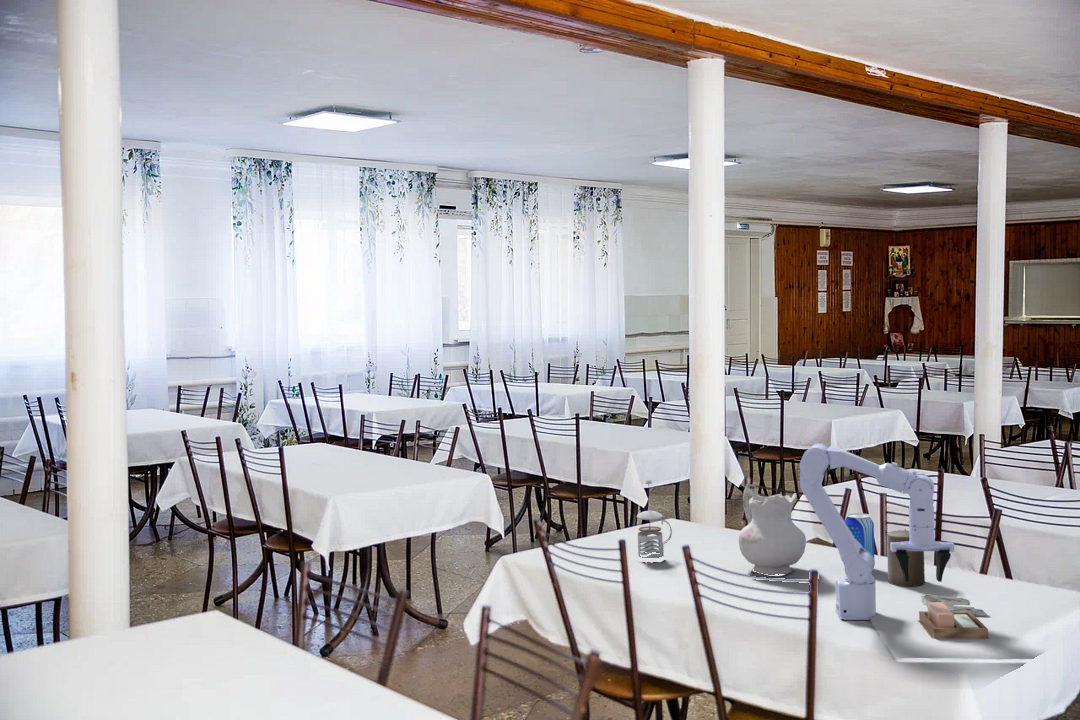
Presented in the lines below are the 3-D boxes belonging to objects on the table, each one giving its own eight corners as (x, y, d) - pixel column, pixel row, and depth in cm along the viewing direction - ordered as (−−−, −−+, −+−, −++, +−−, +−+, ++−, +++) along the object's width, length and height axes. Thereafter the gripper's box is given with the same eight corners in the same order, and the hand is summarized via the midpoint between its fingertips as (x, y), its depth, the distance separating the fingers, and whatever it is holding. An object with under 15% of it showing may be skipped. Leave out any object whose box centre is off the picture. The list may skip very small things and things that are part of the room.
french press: (634, 556, 326) (631, 477, 325) (670, 555, 325) (668, 476, 324) (635, 563, 316) (633, 482, 315) (673, 562, 315) (671, 481, 314)
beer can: (880, 571, 298) (879, 516, 297) (857, 574, 295) (856, 519, 294) (861, 564, 306) (860, 511, 305) (838, 568, 303) (837, 514, 302)
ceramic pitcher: (720, 573, 305) (714, 491, 302) (760, 556, 317) (754, 477, 315) (781, 587, 288) (776, 500, 286) (820, 568, 301) (815, 485, 299)
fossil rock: (919, 601, 269) (918, 592, 268) (980, 602, 266) (979, 593, 266) (931, 620, 251) (931, 611, 251) (996, 622, 248) (996, 613, 248)
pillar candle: (930, 586, 280) (929, 531, 280) (894, 587, 280) (893, 532, 280) (916, 577, 290) (916, 524, 289) (882, 578, 290) (881, 525, 289)
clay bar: (938, 636, 236) (938, 614, 236) (927, 622, 246) (927, 602, 245) (954, 636, 235) (954, 614, 235) (942, 623, 245) (942, 602, 245)
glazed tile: (963, 635, 235) (963, 627, 235) (951, 622, 245) (951, 614, 245) (978, 636, 235) (978, 627, 235) (966, 622, 245) (966, 614, 245)
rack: (932, 641, 234) (931, 628, 234) (917, 623, 248) (917, 611, 248) (989, 642, 233) (989, 628, 233) (972, 623, 246) (972, 611, 246)
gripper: (894, 528, 246) (895, 584, 246) (957, 528, 244) (958, 585, 245) (888, 522, 253) (889, 577, 253) (949, 522, 251) (950, 577, 252)
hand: (922, 580), depth 249 cm, fingers open, 7 cm apart
